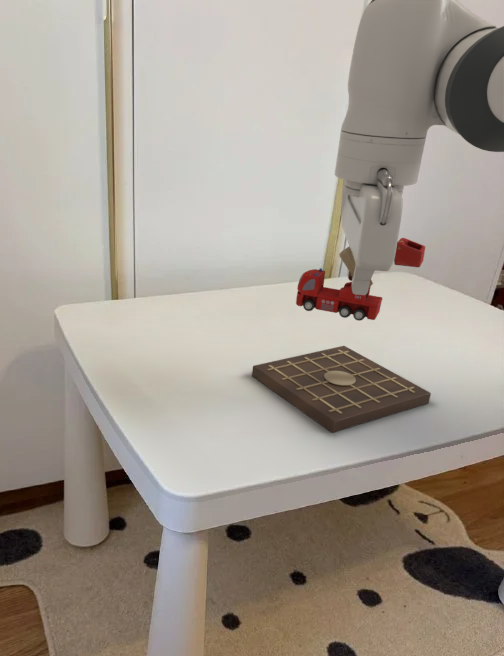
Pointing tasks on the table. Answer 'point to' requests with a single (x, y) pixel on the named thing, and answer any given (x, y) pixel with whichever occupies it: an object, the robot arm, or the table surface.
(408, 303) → the table surface
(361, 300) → the toy fire truck
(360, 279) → the robot arm
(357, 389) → the board
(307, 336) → the table surface
